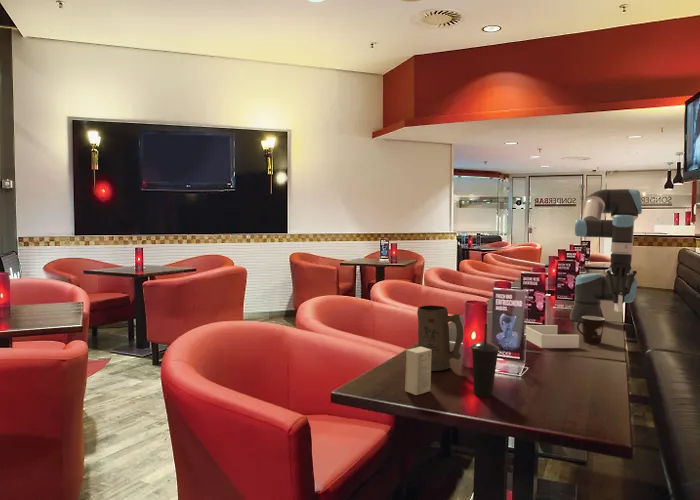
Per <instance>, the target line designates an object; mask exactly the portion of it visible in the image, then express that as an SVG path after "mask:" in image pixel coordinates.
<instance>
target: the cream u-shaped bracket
mask: <svg viewBox="0 0 700 500" xmlns="http://www.w3.org/2000/svg"><path fill="white" fill-rule="evenodd" d="M525 325H526V339H525V340H526V341H528V342H529V343H532V344H534V345H535V346H537V347H538V348H540V349H579V347H580V335H579V334H558V331H559V330H558V329H559V327H558V325H557V324H555V325H554V324H553V325H552V324H550V325H549V324H547V325H545V324H539V325H538V324H536V325H535V324H525Z"/></svg>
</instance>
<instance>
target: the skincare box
mask: <svg viewBox="0 0 700 500" xmlns="http://www.w3.org/2000/svg"><path fill="white" fill-rule="evenodd" d="M431 355H432V350H431V349H428V348H425V347H421V346H420V347H418V346H417V347H413V348H407V349H406V352H405V381H404V383H405V386H404V390H405V392H407V393H408V394H412V395H414V396H417V395H422V394H424V393H428V392H431V384H432V383H431V381H432V379H431V378H432V371H431Z"/></svg>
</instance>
